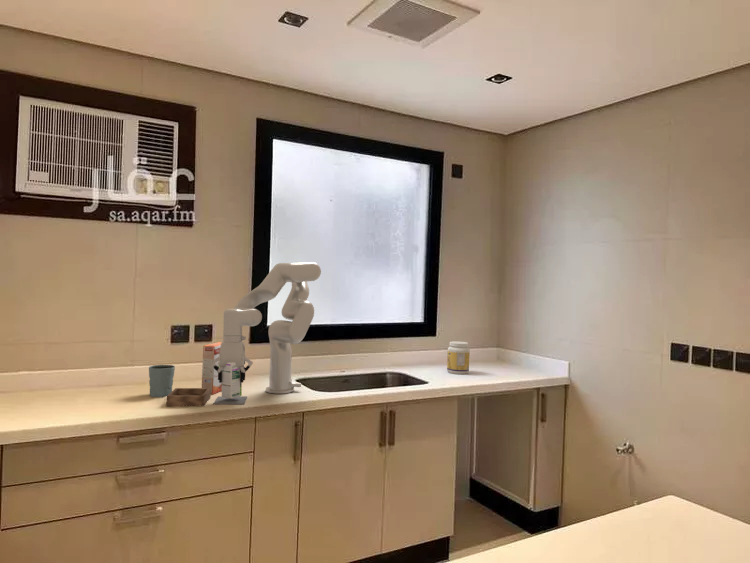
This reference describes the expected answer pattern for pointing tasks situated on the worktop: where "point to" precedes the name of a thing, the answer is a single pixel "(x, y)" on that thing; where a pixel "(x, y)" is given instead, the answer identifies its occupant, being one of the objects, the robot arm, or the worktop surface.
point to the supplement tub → (458, 357)
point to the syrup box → (231, 381)
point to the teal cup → (161, 380)
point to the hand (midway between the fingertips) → (231, 381)
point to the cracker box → (211, 368)
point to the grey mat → (230, 400)
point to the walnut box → (188, 397)
